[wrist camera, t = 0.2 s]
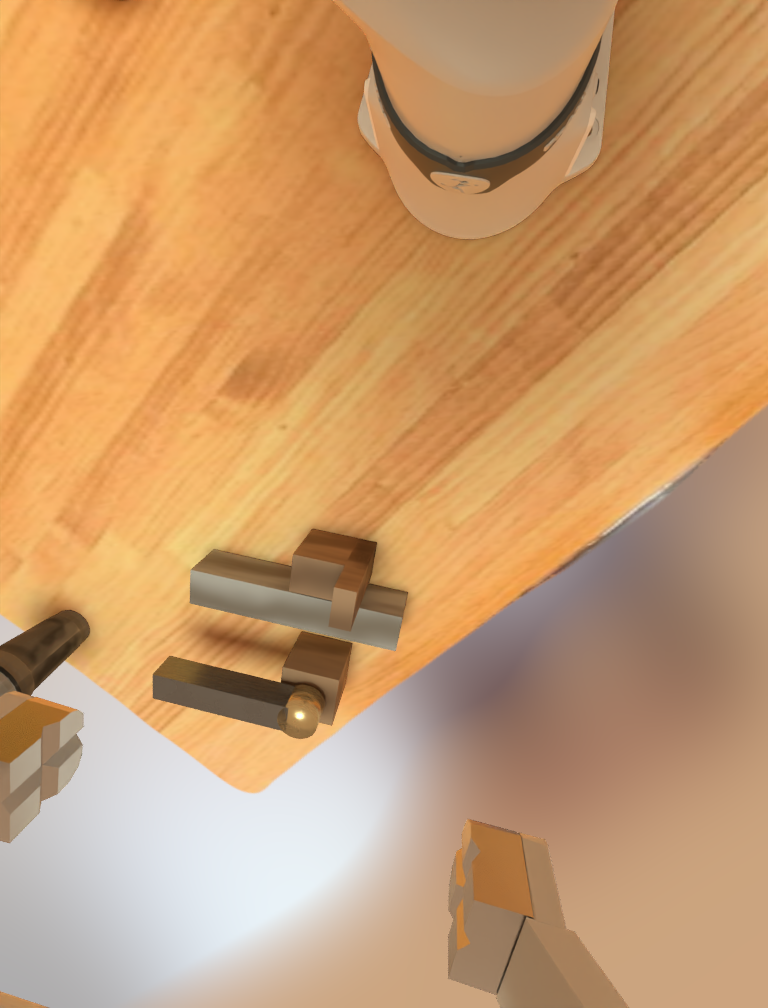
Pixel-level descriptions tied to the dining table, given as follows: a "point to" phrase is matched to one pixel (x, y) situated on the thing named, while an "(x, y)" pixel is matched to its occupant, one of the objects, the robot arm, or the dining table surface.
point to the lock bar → (239, 696)
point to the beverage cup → (40, 651)
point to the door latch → (309, 605)
